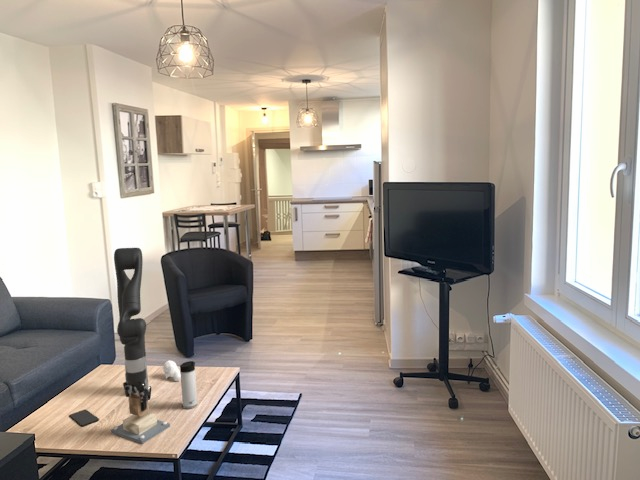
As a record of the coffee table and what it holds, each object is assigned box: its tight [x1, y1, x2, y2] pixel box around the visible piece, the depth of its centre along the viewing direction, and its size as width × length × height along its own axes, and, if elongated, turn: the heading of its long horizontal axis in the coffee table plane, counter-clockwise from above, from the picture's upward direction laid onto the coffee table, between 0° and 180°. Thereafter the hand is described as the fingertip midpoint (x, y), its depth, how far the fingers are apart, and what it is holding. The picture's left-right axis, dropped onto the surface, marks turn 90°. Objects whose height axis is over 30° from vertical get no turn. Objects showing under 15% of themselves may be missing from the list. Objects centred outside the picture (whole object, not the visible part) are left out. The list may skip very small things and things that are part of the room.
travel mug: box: [179, 360, 198, 410], centre depth 210 cm, size 6×7×20 cm
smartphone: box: [68, 409, 100, 428], centre depth 203 cm, size 7×1×15 cm
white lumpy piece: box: [162, 360, 181, 382], centre depth 240 cm, size 6×8×12 cm
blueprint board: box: [110, 419, 171, 445], centre depth 192 cm, size 18×14×2 cm
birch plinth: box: [122, 411, 158, 435], centre depth 192 cm, size 9×9×4 cm
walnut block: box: [127, 393, 150, 416], centre depth 191 cm, size 5×5×7 cm
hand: (139, 408), depth 191 cm, fingers closed on walnut block, 5 cm apart
